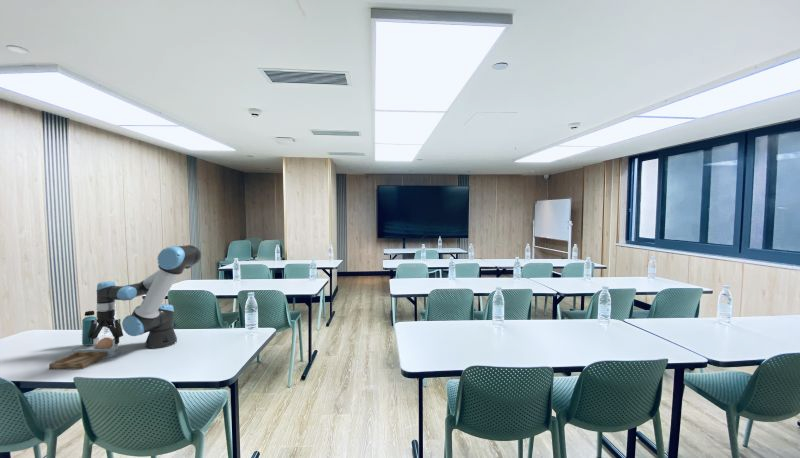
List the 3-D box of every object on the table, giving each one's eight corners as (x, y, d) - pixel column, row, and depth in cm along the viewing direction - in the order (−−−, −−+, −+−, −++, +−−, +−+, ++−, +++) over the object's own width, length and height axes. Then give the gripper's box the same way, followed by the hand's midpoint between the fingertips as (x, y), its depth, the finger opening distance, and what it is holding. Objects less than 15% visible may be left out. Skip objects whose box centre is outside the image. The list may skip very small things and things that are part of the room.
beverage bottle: (87, 348, 187) (87, 313, 186) (78, 347, 188) (78, 312, 188) (100, 344, 193) (100, 310, 193) (91, 343, 194) (91, 309, 194)
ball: (117, 347, 188) (117, 335, 188) (107, 352, 181) (107, 339, 181) (104, 347, 188) (104, 335, 188) (93, 352, 181) (93, 340, 181)
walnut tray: (107, 356, 176) (107, 351, 176) (82, 368, 161) (82, 363, 161) (76, 356, 175) (76, 352, 175) (49, 369, 160) (49, 364, 160)
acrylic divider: (118, 353, 180) (118, 347, 180) (111, 357, 175) (111, 350, 175) (76, 354, 178) (76, 347, 178) (68, 358, 173) (68, 351, 173)
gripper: (131, 308, 189) (131, 347, 189) (90, 308, 187) (90, 347, 187) (121, 311, 181) (121, 352, 182) (78, 311, 180) (78, 352, 180)
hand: (105, 349), depth 185 cm, fingers open, 9 cm apart
